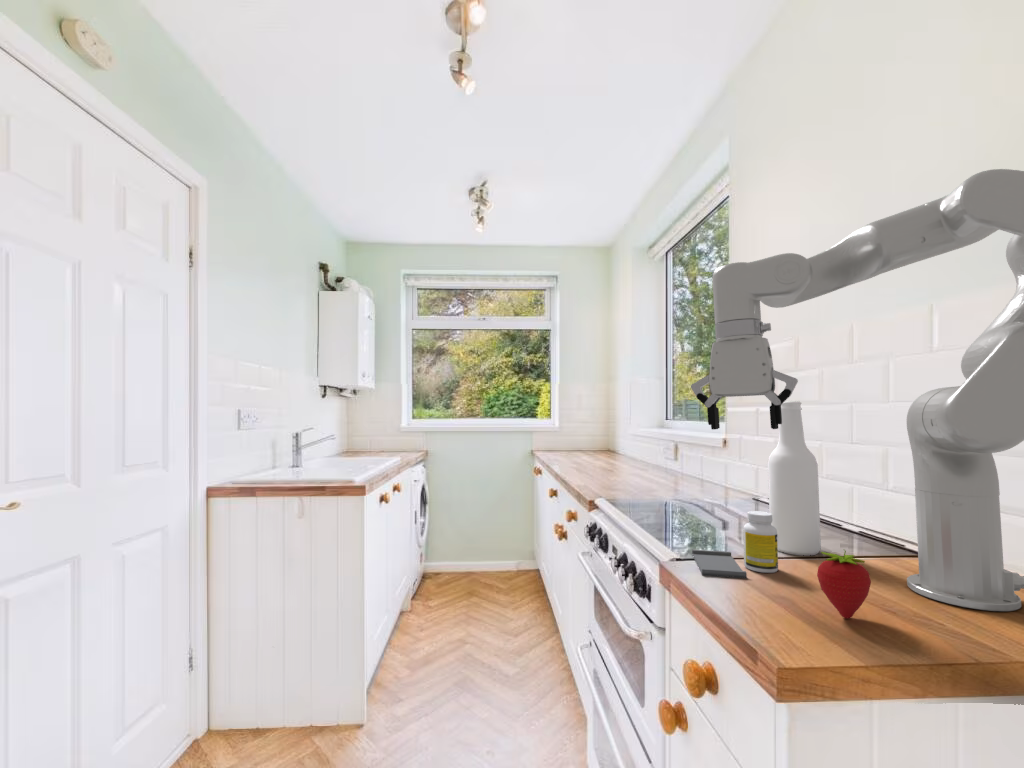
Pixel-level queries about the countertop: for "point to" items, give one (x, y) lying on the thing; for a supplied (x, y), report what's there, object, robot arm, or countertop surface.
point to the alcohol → (794, 487)
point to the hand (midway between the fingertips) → (744, 428)
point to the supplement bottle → (760, 543)
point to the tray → (717, 564)
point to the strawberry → (844, 582)
